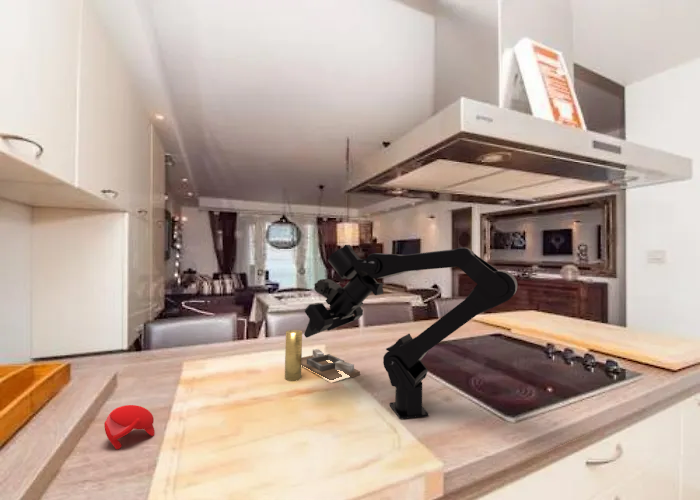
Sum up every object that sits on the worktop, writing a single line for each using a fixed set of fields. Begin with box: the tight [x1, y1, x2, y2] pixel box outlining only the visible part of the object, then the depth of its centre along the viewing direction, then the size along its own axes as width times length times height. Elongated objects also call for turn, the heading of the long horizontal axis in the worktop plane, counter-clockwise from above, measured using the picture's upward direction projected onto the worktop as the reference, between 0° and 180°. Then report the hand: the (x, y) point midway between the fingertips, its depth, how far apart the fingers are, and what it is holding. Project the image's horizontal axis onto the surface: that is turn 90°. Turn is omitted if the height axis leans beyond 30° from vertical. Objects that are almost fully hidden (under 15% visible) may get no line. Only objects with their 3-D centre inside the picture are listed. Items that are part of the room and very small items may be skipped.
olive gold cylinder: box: [284, 329, 303, 382], centre depth 85 cm, size 4×4×12 cm
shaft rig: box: [301, 348, 361, 380], centre depth 93 cm, size 20×10×3 cm, turn 39°
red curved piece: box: [104, 404, 155, 450], centre depth 55 cm, size 8×6×6 cm
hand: (316, 332), depth 81 cm, fingers open, 9 cm apart
